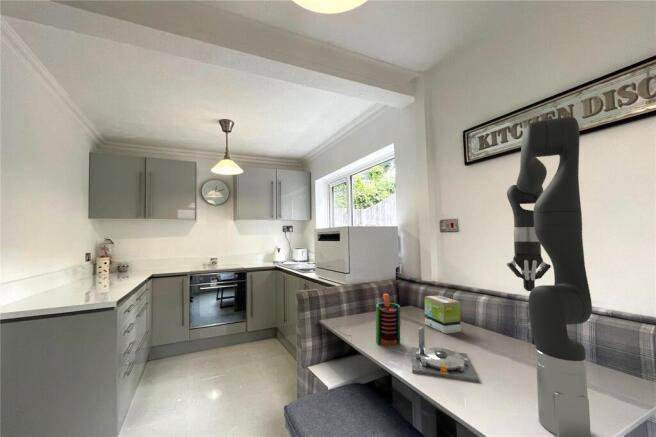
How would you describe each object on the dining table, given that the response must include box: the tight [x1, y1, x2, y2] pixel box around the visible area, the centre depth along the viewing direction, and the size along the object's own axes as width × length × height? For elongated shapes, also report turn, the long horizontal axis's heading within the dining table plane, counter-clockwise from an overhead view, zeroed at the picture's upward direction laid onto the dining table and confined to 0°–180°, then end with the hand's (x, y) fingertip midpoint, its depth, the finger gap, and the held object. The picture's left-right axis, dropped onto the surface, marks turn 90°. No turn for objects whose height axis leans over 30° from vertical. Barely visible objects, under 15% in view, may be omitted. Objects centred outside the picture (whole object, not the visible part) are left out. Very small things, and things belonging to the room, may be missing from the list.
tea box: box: [424, 295, 462, 334], centre depth 137 cm, size 15×10×15 cm
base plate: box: [411, 346, 480, 383], centre depth 97 cm, size 20×20×1 cm
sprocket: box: [416, 326, 468, 372], centre depth 97 cm, size 17×17×10 cm
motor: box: [375, 293, 401, 347], centre depth 118 cm, size 10×9×20 cm
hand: (529, 290), depth 94 cm, fingers closed
